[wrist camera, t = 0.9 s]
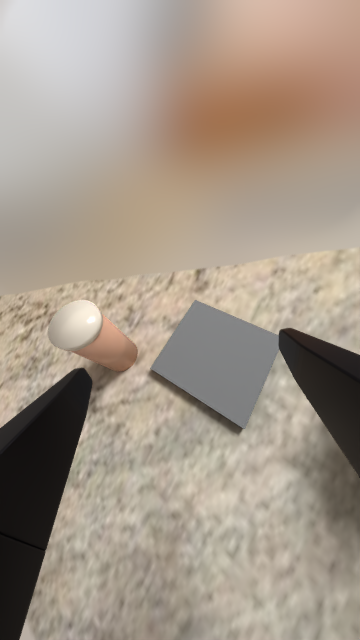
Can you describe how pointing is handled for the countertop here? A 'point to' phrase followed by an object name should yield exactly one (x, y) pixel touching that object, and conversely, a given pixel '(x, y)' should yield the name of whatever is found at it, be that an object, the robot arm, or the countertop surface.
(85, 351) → the terracotta canister
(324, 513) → the countertop surface
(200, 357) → the mat
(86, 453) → the countertop surface
